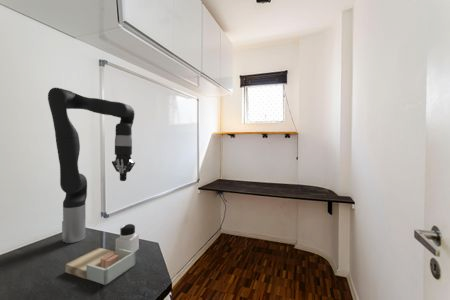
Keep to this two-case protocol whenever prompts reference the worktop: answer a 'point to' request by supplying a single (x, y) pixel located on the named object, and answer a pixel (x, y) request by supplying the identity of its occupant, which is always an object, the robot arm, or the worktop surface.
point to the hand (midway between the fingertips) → (123, 180)
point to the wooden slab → (86, 262)
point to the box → (111, 267)
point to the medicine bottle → (128, 238)
